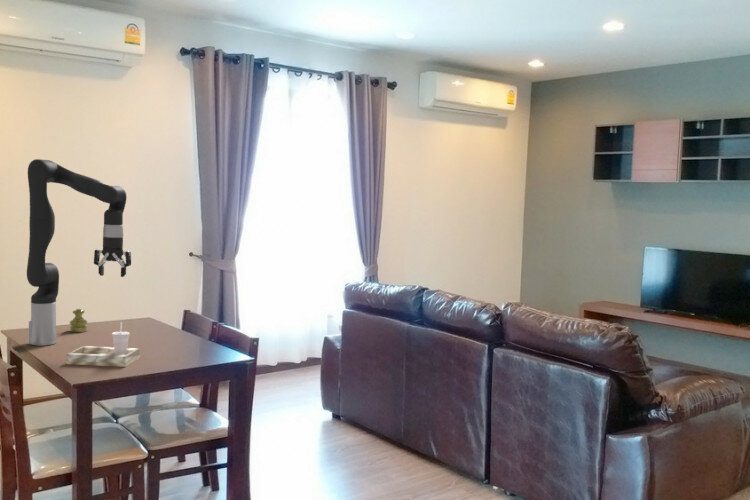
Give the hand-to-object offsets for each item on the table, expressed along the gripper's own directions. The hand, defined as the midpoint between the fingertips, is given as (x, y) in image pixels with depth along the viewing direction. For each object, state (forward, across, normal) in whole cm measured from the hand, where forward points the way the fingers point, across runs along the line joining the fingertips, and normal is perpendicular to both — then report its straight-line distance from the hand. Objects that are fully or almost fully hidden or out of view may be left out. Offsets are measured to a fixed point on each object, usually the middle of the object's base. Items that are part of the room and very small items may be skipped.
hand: (112, 276), depth 270 cm
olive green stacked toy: (+30, -28, +31) cm, 52 cm away
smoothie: (+29, +12, -19) cm, 36 cm away
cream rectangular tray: (+30, +5, -19) cm, 36 cm away
